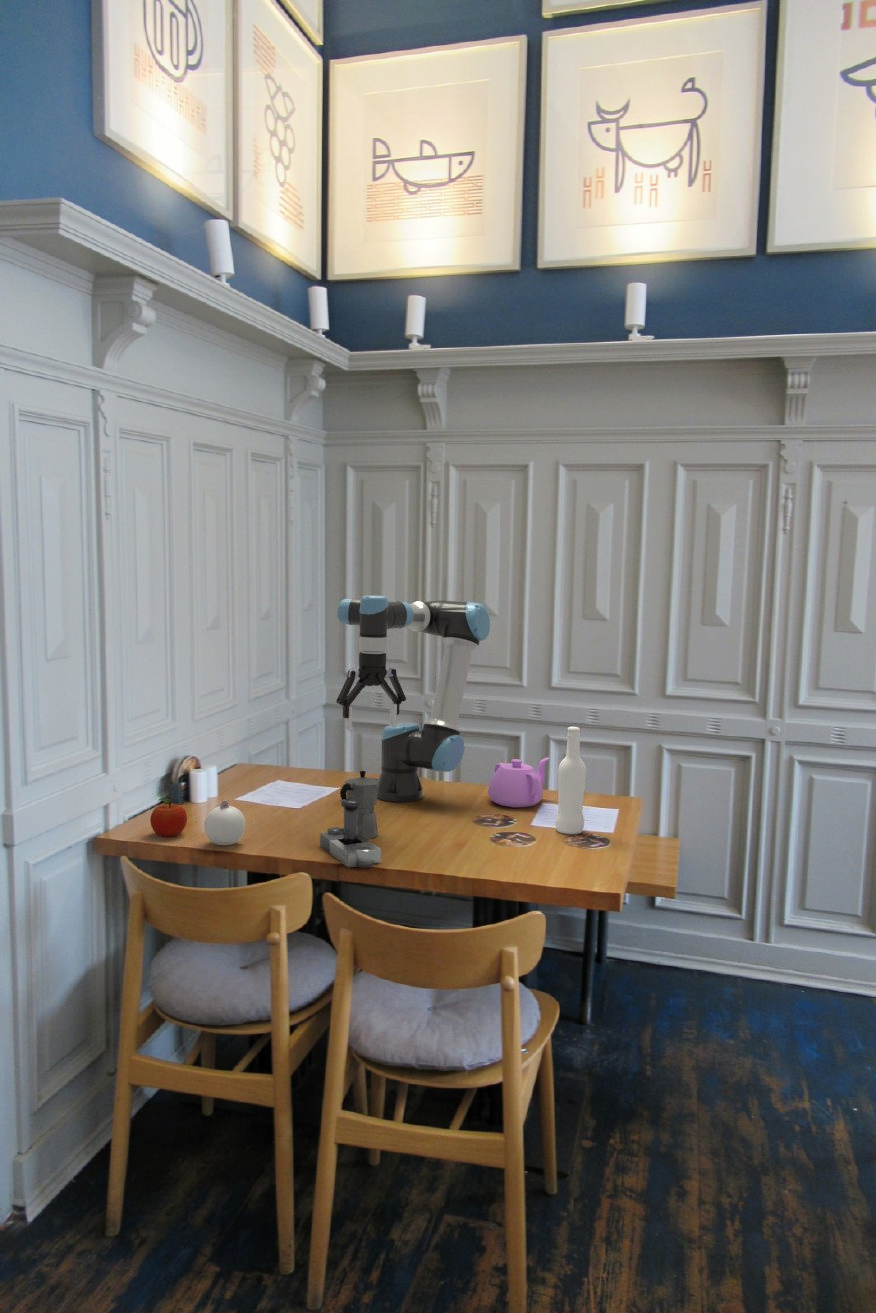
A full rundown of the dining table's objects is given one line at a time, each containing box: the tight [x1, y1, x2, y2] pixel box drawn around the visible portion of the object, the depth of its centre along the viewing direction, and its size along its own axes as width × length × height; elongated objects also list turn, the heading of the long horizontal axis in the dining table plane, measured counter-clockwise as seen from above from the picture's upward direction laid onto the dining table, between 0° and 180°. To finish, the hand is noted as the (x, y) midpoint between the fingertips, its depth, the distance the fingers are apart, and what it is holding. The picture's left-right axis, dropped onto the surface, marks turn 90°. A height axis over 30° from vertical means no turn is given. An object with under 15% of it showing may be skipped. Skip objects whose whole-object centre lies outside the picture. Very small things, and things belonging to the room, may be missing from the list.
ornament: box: [203, 799, 246, 846], centre depth 249 cm, size 10×10×12 cm
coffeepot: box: [339, 770, 380, 840], centre depth 259 cm, size 15×9×18 cm, turn 145°
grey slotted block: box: [319, 826, 382, 869], centre depth 244 cm, size 9×22×4 cm, turn 30°
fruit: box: [149, 797, 188, 838], centre depth 255 cm, size 10×10×10 cm
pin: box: [340, 798, 361, 845], centre depth 244 cm, size 5×5×14 cm
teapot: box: [487, 756, 551, 809], centre depth 299 cm, size 22×22×14 cm
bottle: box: [554, 726, 587, 835], centre depth 269 cm, size 8×8×30 cm
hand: (371, 728), depth 263 cm, fingers open, 13 cm apart
